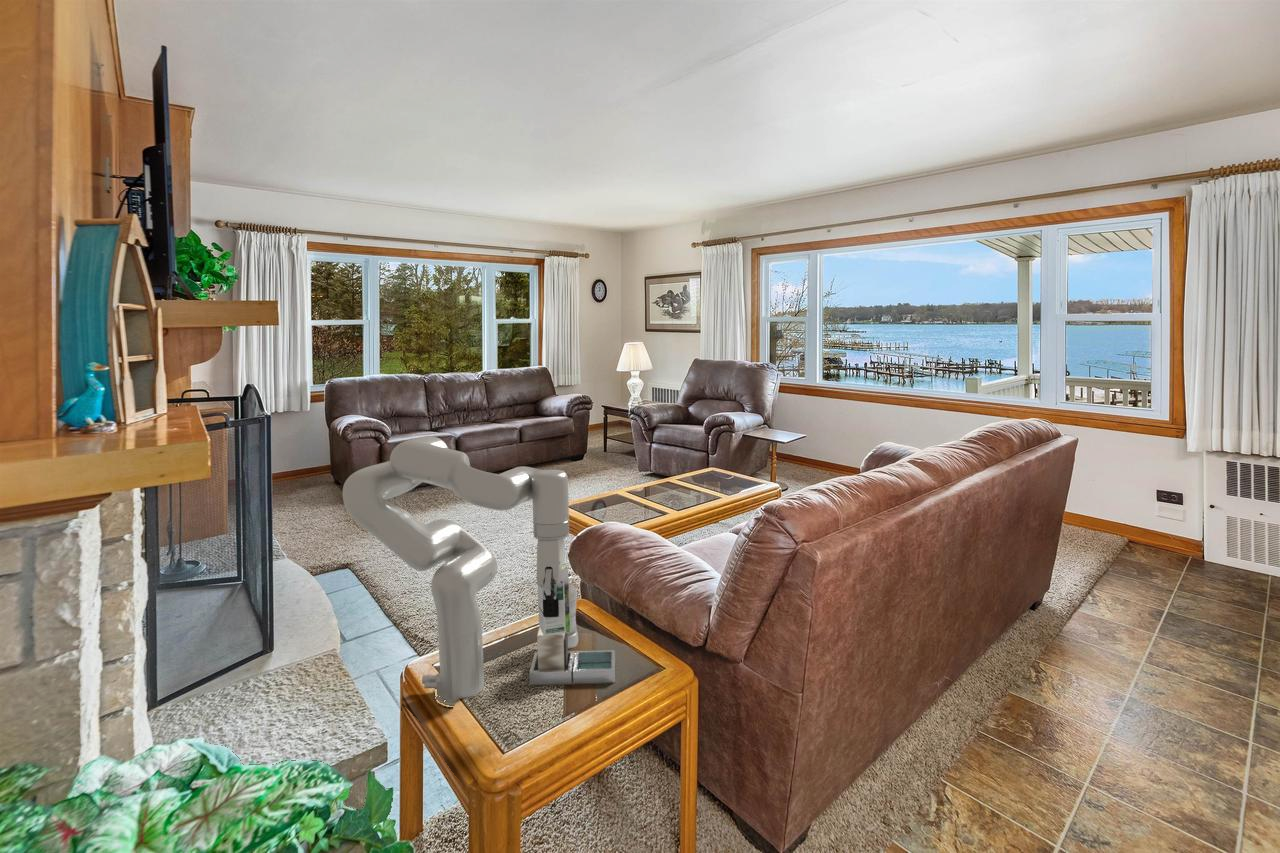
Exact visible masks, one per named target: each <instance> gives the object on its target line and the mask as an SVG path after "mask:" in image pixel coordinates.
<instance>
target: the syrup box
mask: <svg viewBox="0 0 1280 853" xmlns="http://www.w3.org/2000/svg"><path fill="white" fill-rule="evenodd" d="M568 573H569V567H568V565H567V564H566V563H564V565H563V568H562V577H561V583H560V584H559V585H558V586H557V598H558V601H559V616H558V617H544V616H543V587H544V581H543V583H542V585H540V586H538V585H537V601H538V602H537V603H538V604H537V605H538V608H537V609H538V624H539V625H538V626H539V627H540V628H541V631H542V633H543V635H544V637H547V636H550V635H557V634H563V633H569V632H570V614H569V578H568ZM552 574H553V572H552ZM551 584H555V581H552V582H551ZM551 590H553V591H554V587H551Z"/></svg>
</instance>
